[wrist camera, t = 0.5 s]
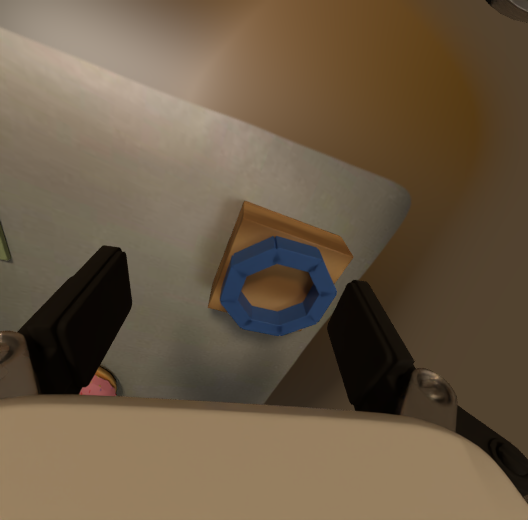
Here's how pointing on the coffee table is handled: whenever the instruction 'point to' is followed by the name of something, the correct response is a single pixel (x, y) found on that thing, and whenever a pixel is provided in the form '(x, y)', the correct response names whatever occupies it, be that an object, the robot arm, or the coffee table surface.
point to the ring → (268, 256)
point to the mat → (3, 247)
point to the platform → (277, 276)
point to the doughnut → (100, 384)
